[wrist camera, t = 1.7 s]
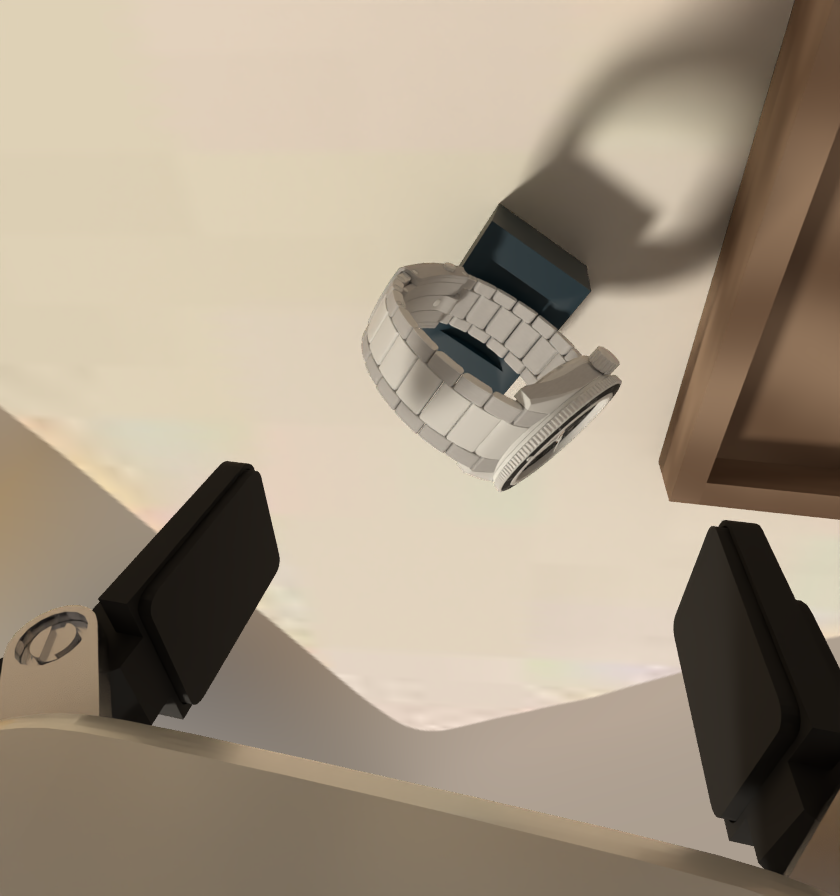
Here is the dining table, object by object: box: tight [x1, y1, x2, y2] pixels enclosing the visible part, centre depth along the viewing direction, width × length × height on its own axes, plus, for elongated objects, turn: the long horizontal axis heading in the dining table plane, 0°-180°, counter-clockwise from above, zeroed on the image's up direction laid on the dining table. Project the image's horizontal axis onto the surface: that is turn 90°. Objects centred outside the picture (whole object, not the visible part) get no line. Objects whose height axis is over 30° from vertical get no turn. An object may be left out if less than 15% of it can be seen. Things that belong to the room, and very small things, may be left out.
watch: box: [362, 204, 622, 492], centre depth 18 cm, size 6×8×11 cm
